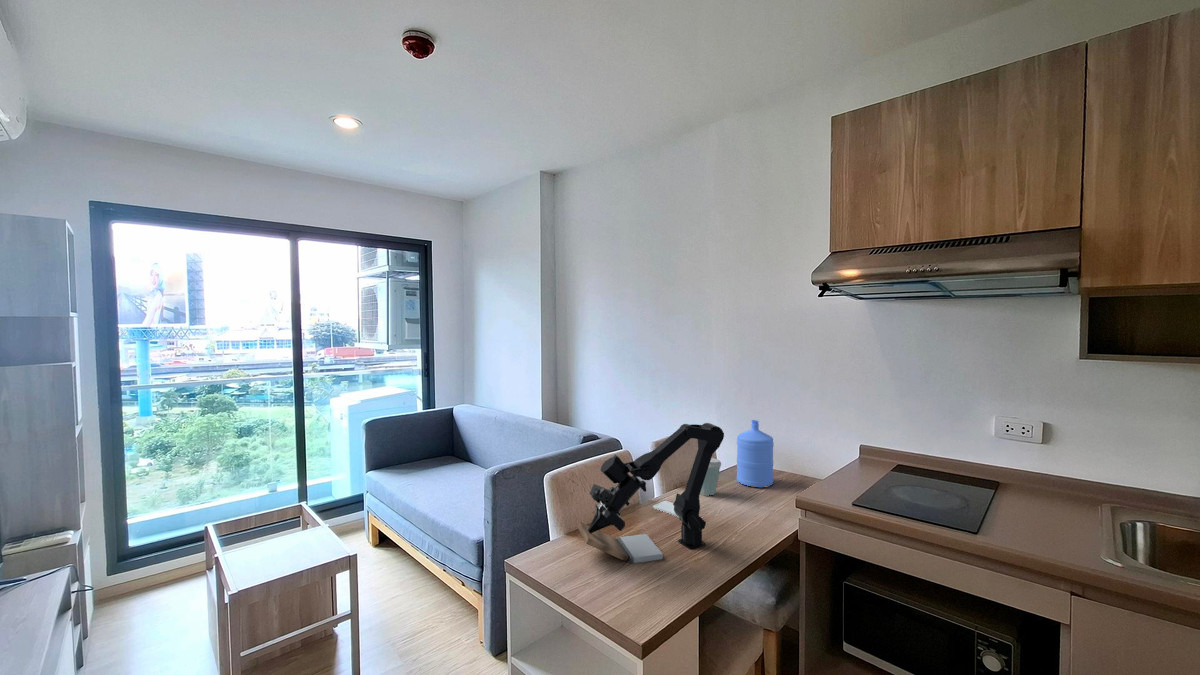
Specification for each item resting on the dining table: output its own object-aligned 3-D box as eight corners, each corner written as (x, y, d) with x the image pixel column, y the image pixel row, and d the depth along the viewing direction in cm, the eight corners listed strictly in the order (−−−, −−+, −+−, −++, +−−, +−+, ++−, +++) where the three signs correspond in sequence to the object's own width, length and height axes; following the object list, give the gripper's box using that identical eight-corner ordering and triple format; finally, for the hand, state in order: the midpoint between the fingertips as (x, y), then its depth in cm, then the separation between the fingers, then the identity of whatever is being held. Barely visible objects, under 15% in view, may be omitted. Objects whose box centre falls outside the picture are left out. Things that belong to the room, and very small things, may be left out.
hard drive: (652, 505, 179) (679, 514, 170) (665, 500, 185) (691, 508, 176) (652, 509, 179) (679, 519, 170) (665, 504, 185) (691, 512, 176)
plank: (614, 543, 149) (616, 538, 149) (626, 561, 138) (628, 556, 138) (577, 526, 146) (580, 522, 146) (586, 543, 134) (588, 538, 135)
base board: (646, 538, 153) (646, 533, 153) (662, 559, 140) (662, 553, 140) (616, 542, 150) (616, 537, 150) (630, 563, 137) (630, 558, 137)
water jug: (768, 491, 198) (768, 426, 197) (732, 484, 206) (732, 422, 206) (776, 481, 211) (777, 419, 210) (742, 475, 219) (742, 416, 219)
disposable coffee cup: (701, 487, 202) (701, 453, 202) (725, 492, 196) (725, 457, 195) (690, 494, 193) (691, 459, 193) (715, 500, 187) (715, 463, 187)
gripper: (597, 467, 151) (564, 504, 148) (614, 485, 133) (577, 528, 130) (621, 488, 153) (589, 525, 150) (640, 510, 135) (604, 552, 132)
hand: (589, 532), depth 141 cm, fingers closed
